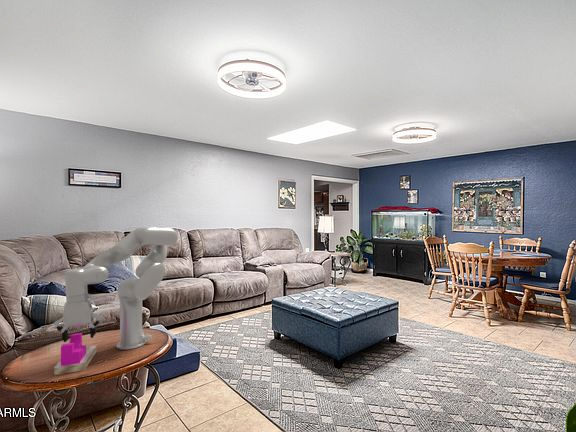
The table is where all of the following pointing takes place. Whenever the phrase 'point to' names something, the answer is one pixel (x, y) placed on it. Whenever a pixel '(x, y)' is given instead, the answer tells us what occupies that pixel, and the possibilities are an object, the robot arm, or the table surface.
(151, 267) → the robot arm
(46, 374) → the table surface
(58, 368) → the plinth
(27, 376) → the table surface
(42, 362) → the table surface
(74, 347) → the toy block
